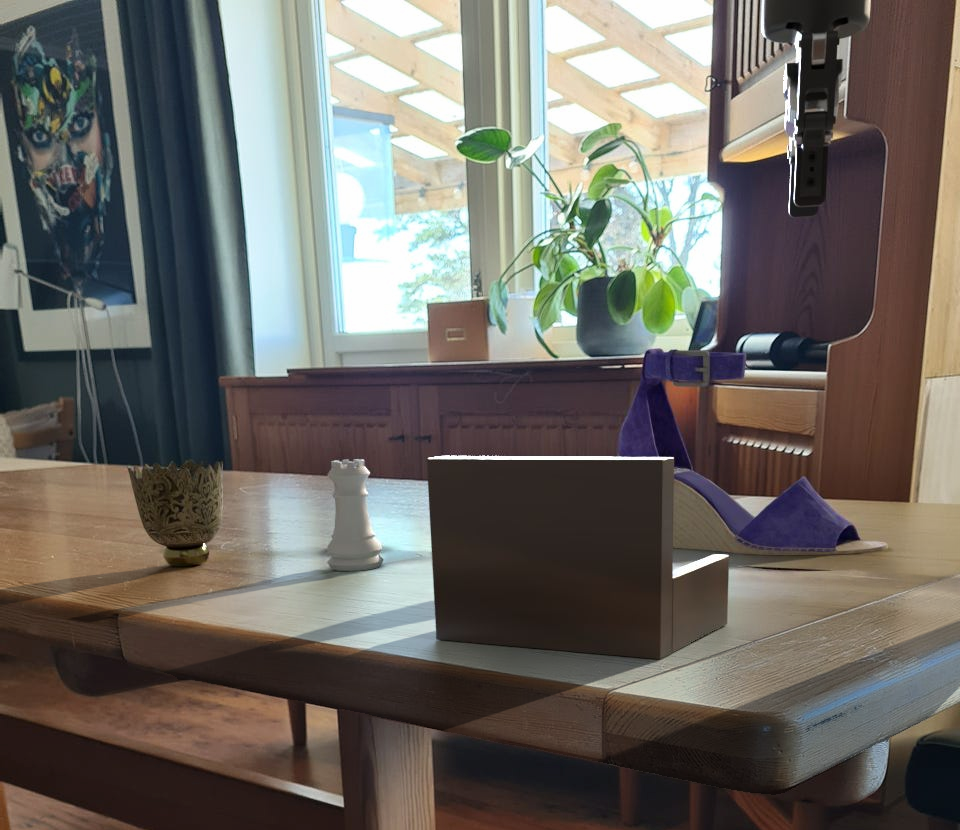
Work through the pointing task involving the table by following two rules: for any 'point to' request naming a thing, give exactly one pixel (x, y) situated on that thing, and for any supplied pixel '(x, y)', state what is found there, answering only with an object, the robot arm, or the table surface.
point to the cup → (180, 508)
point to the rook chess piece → (352, 520)
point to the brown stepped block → (566, 556)
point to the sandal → (703, 505)
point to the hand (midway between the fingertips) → (806, 211)
